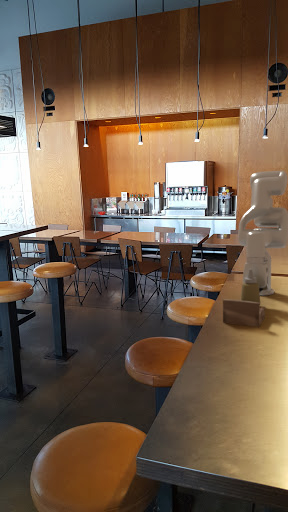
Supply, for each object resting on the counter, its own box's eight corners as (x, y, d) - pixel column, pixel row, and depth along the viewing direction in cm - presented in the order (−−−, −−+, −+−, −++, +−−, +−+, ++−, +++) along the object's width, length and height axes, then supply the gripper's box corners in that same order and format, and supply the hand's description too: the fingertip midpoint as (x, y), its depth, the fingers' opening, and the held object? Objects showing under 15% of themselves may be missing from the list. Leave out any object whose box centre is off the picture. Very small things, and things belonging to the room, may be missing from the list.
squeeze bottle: (261, 315, 146) (262, 271, 143) (240, 314, 148) (240, 271, 145) (259, 309, 154) (259, 267, 151) (239, 308, 156) (239, 267, 153)
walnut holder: (231, 313, 150) (231, 292, 149) (264, 317, 144) (264, 295, 142) (223, 322, 141) (222, 299, 139) (258, 327, 134) (258, 303, 133)
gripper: (275, 259, 155) (274, 301, 158) (240, 258, 162) (239, 297, 165) (272, 262, 149) (271, 306, 152) (235, 261, 156) (235, 302, 159)
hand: (255, 301), depth 159 cm, fingers closed
